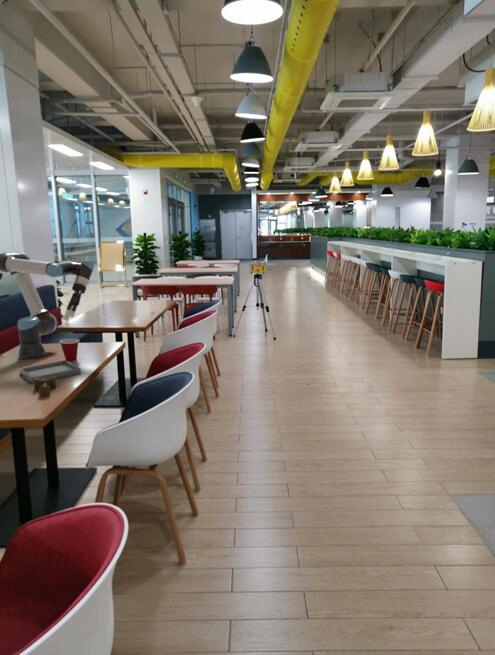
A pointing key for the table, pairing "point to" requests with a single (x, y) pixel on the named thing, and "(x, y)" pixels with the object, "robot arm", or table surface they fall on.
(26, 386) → the table surface
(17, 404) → the table surface
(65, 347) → the plastic cup
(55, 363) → the grey tray
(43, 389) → the kendama
